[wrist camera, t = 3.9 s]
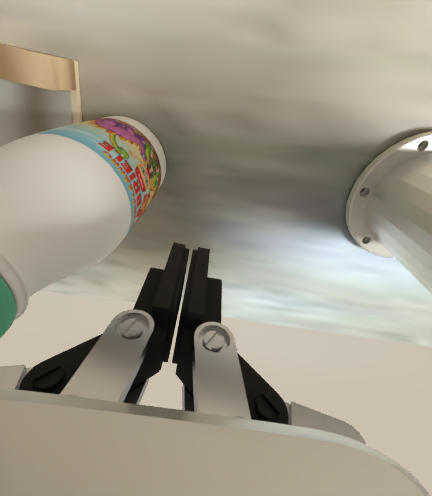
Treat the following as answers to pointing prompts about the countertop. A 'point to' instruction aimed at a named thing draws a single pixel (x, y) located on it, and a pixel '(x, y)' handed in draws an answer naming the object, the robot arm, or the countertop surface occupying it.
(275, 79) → the countertop surface
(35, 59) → the cradle
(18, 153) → the milk bottle
